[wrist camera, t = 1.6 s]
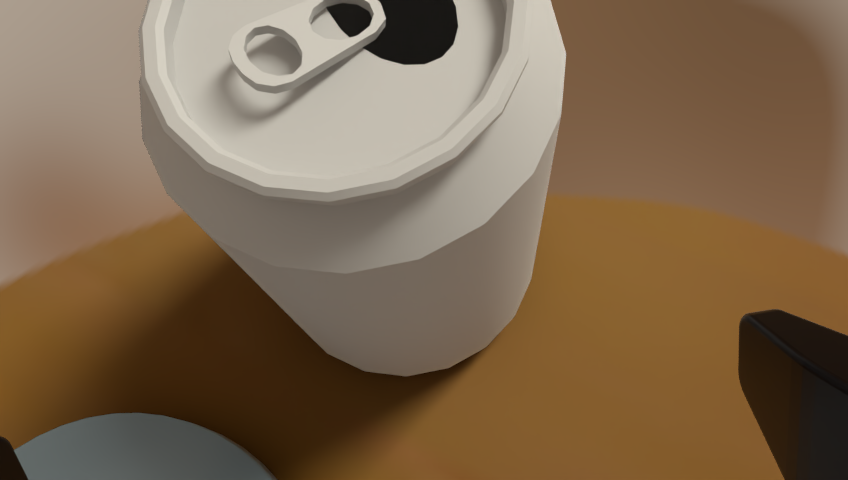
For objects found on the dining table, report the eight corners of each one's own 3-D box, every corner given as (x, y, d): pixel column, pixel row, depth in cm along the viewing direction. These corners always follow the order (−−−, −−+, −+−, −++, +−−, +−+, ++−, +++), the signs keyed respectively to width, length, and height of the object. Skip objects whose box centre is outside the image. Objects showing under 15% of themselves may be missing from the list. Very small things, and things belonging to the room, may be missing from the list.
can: (586, 275, 22) (686, 28, 11) (380, 436, 21) (258, 346, 10) (430, 102, 25) (381, -246, 13) (238, 239, 23) (9, -15, 12)
